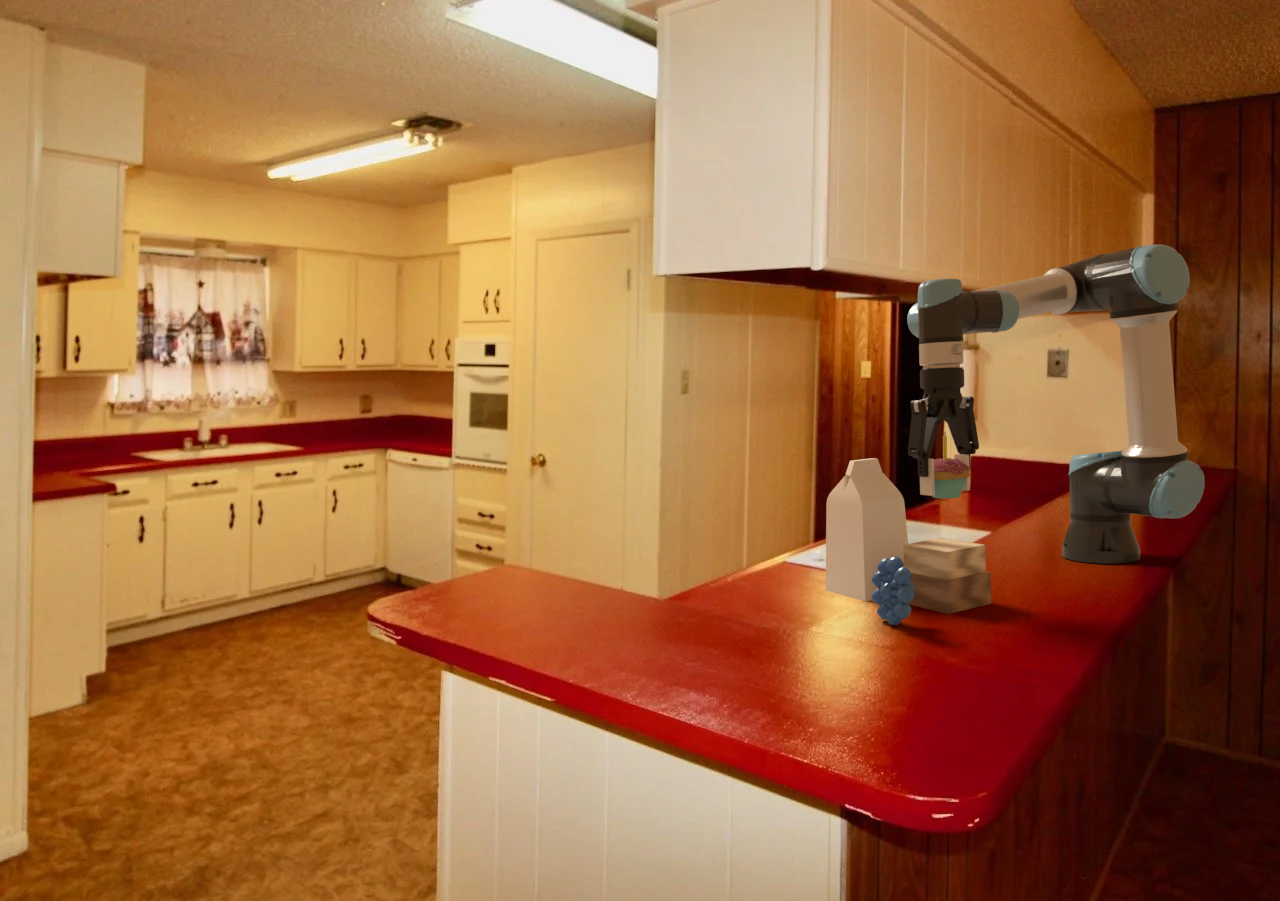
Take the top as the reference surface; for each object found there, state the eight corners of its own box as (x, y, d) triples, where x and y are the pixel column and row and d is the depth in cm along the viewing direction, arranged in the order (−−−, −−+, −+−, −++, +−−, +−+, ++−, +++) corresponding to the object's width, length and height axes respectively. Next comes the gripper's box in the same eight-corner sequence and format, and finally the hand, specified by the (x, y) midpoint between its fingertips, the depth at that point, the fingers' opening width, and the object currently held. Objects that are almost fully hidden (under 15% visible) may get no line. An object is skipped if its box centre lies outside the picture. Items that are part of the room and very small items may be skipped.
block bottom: (943, 594, 170) (942, 563, 169) (991, 604, 160) (990, 572, 160) (901, 603, 164) (900, 571, 164) (948, 615, 155) (947, 581, 154)
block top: (942, 563, 169) (941, 537, 168) (985, 572, 160) (985, 544, 160) (904, 571, 164) (903, 544, 163) (947, 580, 155) (946, 552, 155)
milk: (865, 601, 167) (860, 463, 165) (825, 590, 177) (820, 460, 175) (912, 591, 172) (908, 458, 170) (871, 581, 182) (867, 455, 180)
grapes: (935, 631, 145) (933, 558, 144) (898, 635, 143) (896, 562, 142) (898, 614, 156) (896, 547, 155) (863, 618, 155) (861, 550, 154)
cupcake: (974, 499, 156) (972, 431, 155) (923, 500, 157) (921, 433, 157) (966, 493, 164) (964, 428, 163) (918, 494, 166) (916, 430, 165)
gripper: (915, 367, 151) (919, 500, 152) (999, 363, 161) (1002, 488, 163) (883, 369, 157) (887, 496, 159) (965, 365, 167) (968, 485, 169)
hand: (945, 492), depth 161 cm, fingers closed on cupcake, 8 cm apart
